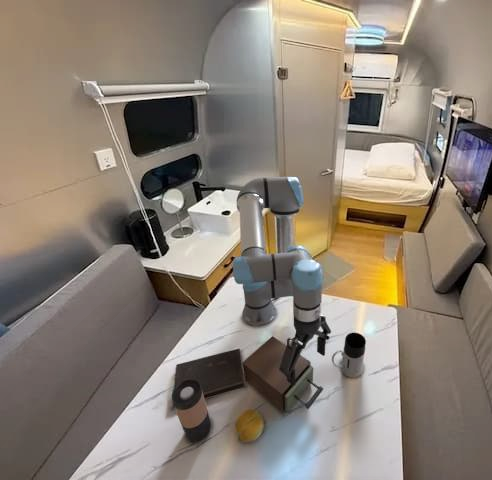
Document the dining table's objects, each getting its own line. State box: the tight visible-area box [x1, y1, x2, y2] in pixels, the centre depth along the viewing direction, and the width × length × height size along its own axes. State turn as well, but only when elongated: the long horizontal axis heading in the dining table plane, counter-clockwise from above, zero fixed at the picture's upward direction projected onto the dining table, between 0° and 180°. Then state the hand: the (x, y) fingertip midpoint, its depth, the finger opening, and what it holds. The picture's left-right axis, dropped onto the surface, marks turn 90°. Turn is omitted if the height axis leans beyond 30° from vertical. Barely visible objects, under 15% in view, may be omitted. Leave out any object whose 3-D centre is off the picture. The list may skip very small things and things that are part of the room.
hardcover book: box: [172, 348, 246, 409], centre depth 100 cm, size 16×23×2 cm
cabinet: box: [241, 335, 312, 413], centre depth 99 cm, size 19×15×10 cm
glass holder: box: [331, 332, 367, 378], centre depth 102 cm, size 9×14×15 cm, turn 121°
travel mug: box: [171, 379, 212, 443], centre depth 81 cm, size 8×8×20 cm
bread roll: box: [234, 408, 265, 443], centre depth 86 cm, size 8×9×4 cm
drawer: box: [284, 365, 324, 413], centre depth 96 cm, size 24×14×8 cm, turn 54°
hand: (306, 367), depth 84 cm, fingers open, 13 cm apart
